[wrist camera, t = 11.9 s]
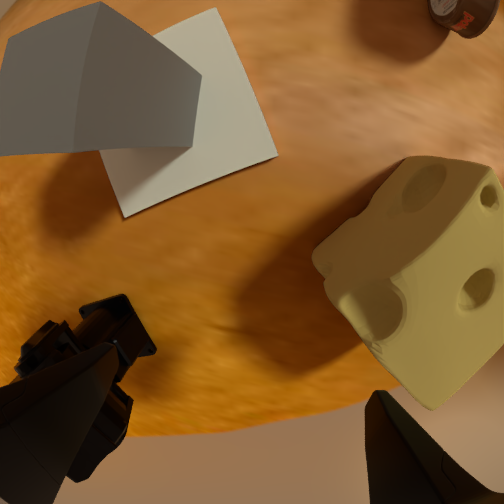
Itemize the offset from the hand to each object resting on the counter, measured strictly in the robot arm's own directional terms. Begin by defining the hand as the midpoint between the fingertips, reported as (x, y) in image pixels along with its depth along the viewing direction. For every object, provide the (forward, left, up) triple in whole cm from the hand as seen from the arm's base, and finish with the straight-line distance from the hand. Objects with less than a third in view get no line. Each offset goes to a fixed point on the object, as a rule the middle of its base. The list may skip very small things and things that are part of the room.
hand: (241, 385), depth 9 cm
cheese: (+10, -3, -13) cm, 17 cm away
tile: (-3, +12, -13) cm, 18 cm away
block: (-3, +12, -12) cm, 17 cm away
